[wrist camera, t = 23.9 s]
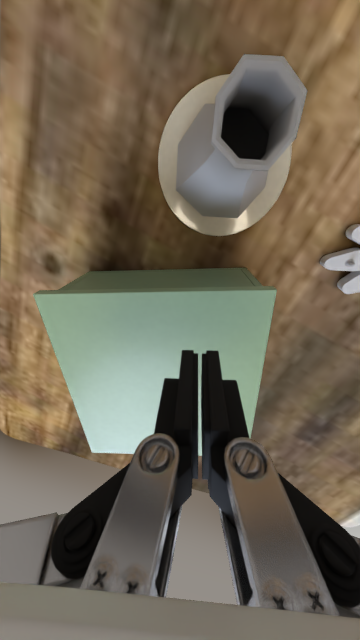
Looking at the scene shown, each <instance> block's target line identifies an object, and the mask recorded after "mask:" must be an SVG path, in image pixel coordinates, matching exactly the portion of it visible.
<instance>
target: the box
mask: <svg viewBox="0 0 360 640" xmlns="http://www.w3.org/2000/svg"><path fill="white" fill-rule="evenodd" d="M248 286H262V285H261V283H260V282H259V281H258V280H257V279H256V278H255V277H254V276H253V275H252V274H251V273H250V272H249V271H248V270H247V268H210V269H170V270H129V271H89V272H87V273H86V274H84V275H82V276H81V277H79V278H77V279H76V280H74V281H72V282H71V283H69V284H67V285H66V286H64V287H62V288H61V289H59V290H94V289H145V288H197V287H248Z"/></svg>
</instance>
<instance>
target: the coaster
mask: <svg viewBox="0 0 360 640" xmlns="http://www.w3.org/2000/svg"><path fill="white" fill-rule="evenodd" d="M229 76H230V74H226V75H221V76H216V77H213V78H210V79H207V80H206V81H204V82H202V83H200V84H198V85H197V86H195V87H194V88H193V89H192V90H190V91H189V92H188V93H187V94H186V95H185V96H184V97H183V98H182V99H181V100H180V102H179V103H178V104H177V105H176V107H175V108H174V110H173V112H172V113H171V115H170V117H169V119H168V121H167V123H166V125H165V128H164V131H163V134H162V137H161V141H160V146H159V154H158V173H159V180H160V184H161V189H162V192H163V194H164V197H165V199H166V201H167V203H168V205H169V207H170V208H171V210H172V211H173V213H174V214H175V215H176V216H177V218H178V219H179V220H180V221H181V222H183V223H184V224H185V225H186V226H188V227H189V228H191V229H193V230H195V231H197V232H199V233H202V234H205V235H211V236H226V235H231V234H235V233H238V232H241V231H243V230H245V229H247V228H249V227H251V226H252V225H253V224H255V223H256V222H258V221H259V220H260V219H261V218H262V217H263V216H264V215H265V214H266V213H267V212H268V211H269V210H270V209H271V207H272V206H273V205H274V203H275V202H276V200H277V199H278V197H279V195H280V193H281V191H282V189H283V187H284V185H285V182H286V179H287V176H288V173H289V168H290V164H291V155H292V143H291V144H290V146H289V147H288V148H287V149H286V150H285V151H284V152H283V154H282V155H281V156H280V157H279V158H278V159H277V161H276V162H275V163H274V164H273V165H272V166H271V167H270V169H269V170H268V175H267V180H266V185H265V188H264V189H263V190H262V191H261V192H260V194H259V195H258V196H257V197H256V198H255V199H254V200H253V201H252V203H251V204H250V205H249V206H248V207H247V208H246V209H245V210H244V212H243V213H242V214H241V215H240V216H239V217H238V218H223V217H209V216H202V215H201V214H200V213H199V212H198V211H197V210H196V209H195V208H194V207H193V206H192V205H191V204H190V203H189V202H188V201H187V200H186V199H185V198H184V197H183V196H182V195H181V194H179V193H178V192H177V191H176V176H177V154H178V144H179V142H180V141H181V139H182V138H183V136H184V135H185V133H186V132H187V130H188V129H189V127H190V126H191V124H192V123H193V121H194V120H195V118H196V117H197V115H198V114H199V112H200V111H201V109H202V108H203V106H204V105H205V104H215V97H216V95H217V93H218V92H219V90H220V89H221V87H222V86H223V84H224V83H225V81H226V80H227V79H228V77H229Z"/></svg>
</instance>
